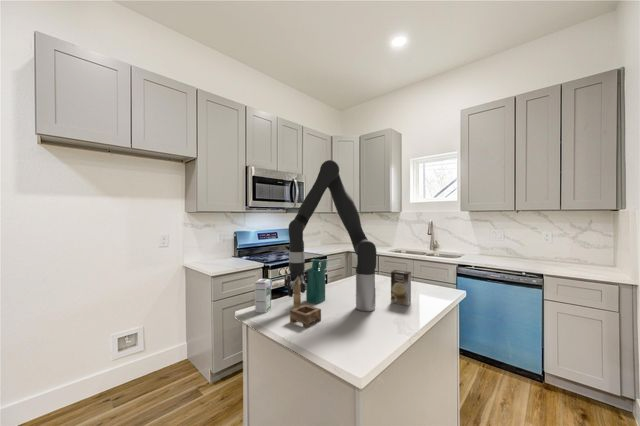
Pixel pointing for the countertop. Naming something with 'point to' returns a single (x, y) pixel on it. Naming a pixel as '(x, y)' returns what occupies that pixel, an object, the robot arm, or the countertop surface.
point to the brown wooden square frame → (305, 315)
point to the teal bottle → (316, 282)
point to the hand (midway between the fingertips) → (296, 294)
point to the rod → (297, 294)
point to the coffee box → (401, 287)
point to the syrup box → (262, 295)
